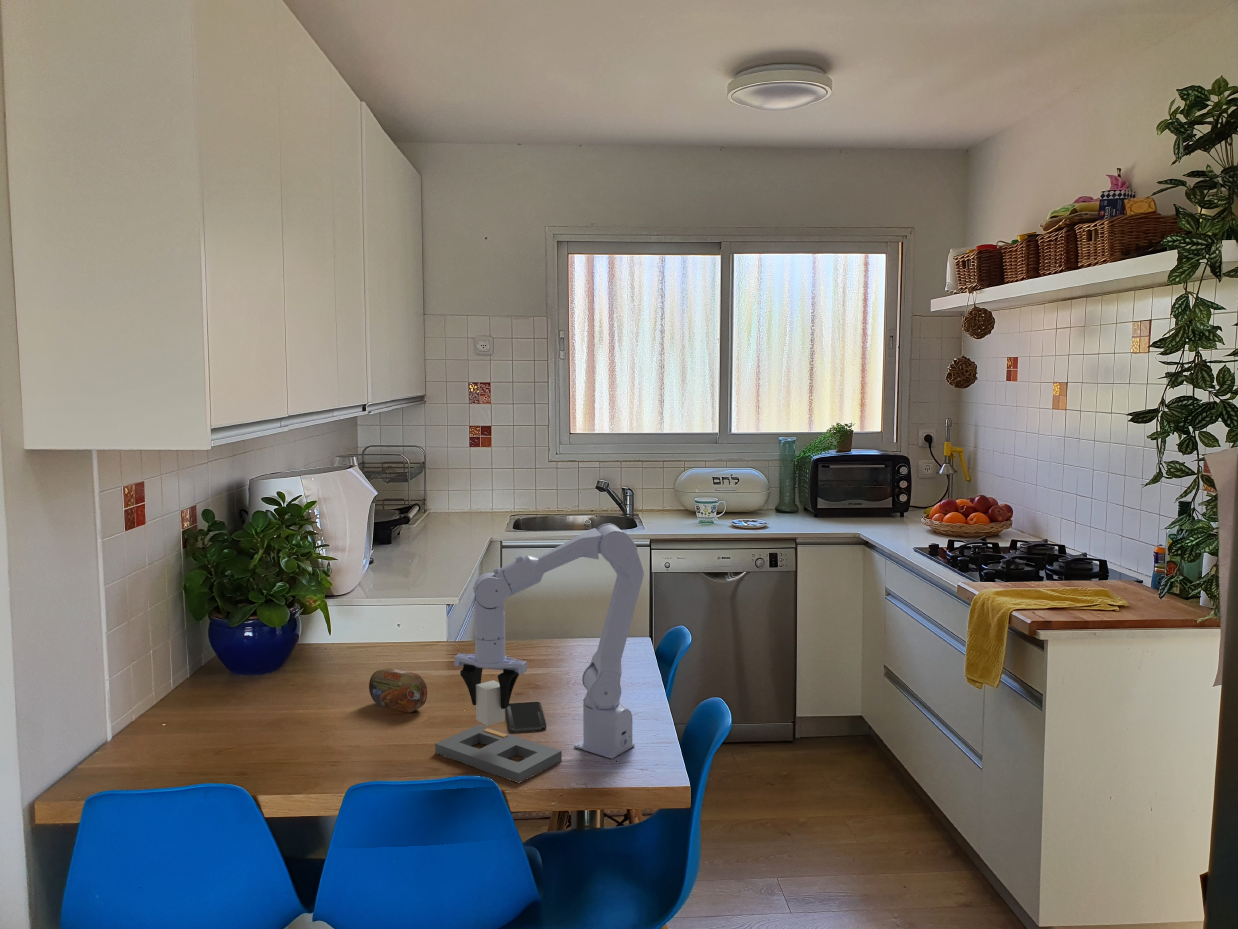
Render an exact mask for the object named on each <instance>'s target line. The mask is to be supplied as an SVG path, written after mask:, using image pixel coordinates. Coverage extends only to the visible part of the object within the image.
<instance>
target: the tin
mask: <svg viewBox="0 0 1238 929" xmlns="http://www.w3.org/2000/svg"><path fill="white" fill-rule="evenodd" d="M427 688H428V687H427V683H426V681H425V680H424V678H423V677H422V676H421V675H419V674H417V673H416V672H413V671H412V672H410V671H404V670H399V669H396V668H395V669H393V668H384V669H378V670H376V671H374V673H372V674H371V676H370V678H369V682H368V690H369V694H370V697H371V698H372V699H371V700H372V701H373V702H374V703H375V704H376V705H377V706H379V707H380V706H383V707H382V708H384V707H386V708H385V709H389V708H390V709H389V710H394V709H395V710H394V711H399V712H404V713H413V712H415V711H416V710H419V709H421V708H423V706H424V705H425V704H426V702H427V698H428V689H427Z"/></svg>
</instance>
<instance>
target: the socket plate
mask: <svg viewBox="0 0 1238 929" xmlns="http://www.w3.org/2000/svg"><path fill="white" fill-rule="evenodd" d="M479 742H480V743H479ZM482 743H483V744H482ZM474 744H475V745H477V744H482V745H485V744H487V745H485V746H483V747H482V748H477V747H474V746H475V745H474ZM472 745H473V746H472ZM434 749H435V751H434V753H438V754H440V755H439V756H441V755H442V756H441V757H444V756H446V757H449V758H451V759H450V760H452V759H454V760H453V761H455V760H457V761H460V762H462V763H461V764H463V763H465V764H464V765H466V764H467V765H466V766H468V765H470V766H469V767H471V766H473V767H472V768H474V767H475V768H474V769H478V770H480V771H483V772H485V773H488V774H491V775H494V776H496V775H498V776H497V777H499V776H501V777H500V778H502V777H505V778H508V779H511V780H514V781H517V782H520V781H523V780H525V779H527V778H529V777H531V776H532V775H534V776H536V775H538V774H540V773H541V772H540V771H542V772H544V771H546V770H547V769H549V768H551V767H553V766H554V764H555V765H557V764H558V762H559V763H560V762H562V760H563V759H562V756H563V755H562V754H563V753H562V750H560V749H557V748H555V747H551V746H548V745H544V744H543V743H538V742H536V741H533V740H530V739H525V738H523V737H520V736H517V735H514V734H511V733H507V732H504V731H501V730H498V729H495V728H492V727H489V726H486V725H482V724H477V725H474V726H473V727H469V728H468V729H465V730H464V731H461V732H459V733H457V734H454V735H452V736H449V737H447V738H444V739H443V740H440V741H438V742H435V743H434ZM438 754H437V755H438ZM516 754H517V755H516ZM514 755H515V756H518V755H520V756H523V757H526V758H523V757H522V758H523V759H522V760H520V761H515V760H512V759H511V758H513V757H515V756H514ZM512 756H513V757H512ZM520 756H519V757H520ZM446 757H445V758H446ZM510 757H511V758H510ZM449 758H448V759H449ZM508 758H509V759H508ZM457 761H456V762H457ZM460 762H459V763H460ZM556 763H557V764H556ZM548 767H549V768H548ZM546 768H547V769H546ZM545 769H546V770H545ZM543 770H544V771H543ZM539 772H540V773H539ZM537 773H538V774H537ZM535 774H536V775H535ZM531 778H532V777H531ZM529 779H530V778H529ZM527 780H528V779H527ZM525 781H526V780H525ZM523 782H524V781H523Z"/></svg>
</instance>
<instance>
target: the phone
mask: <svg viewBox="0 0 1238 929" xmlns="http://www.w3.org/2000/svg"><path fill="white" fill-rule="evenodd" d="M505 715H506V718H507V725H508V726H507V727H508V731H509V733H511V732H512V734H517V733H516V732H519V733H529V732H530V733H533V731H534V732H543V730H544V731H546V730H547V722H546V718H545V714H544V711H543V708H542V703H541V702H540V701H527V702H514V703H513V702H509V706H508V707H507V708H505ZM545 729H546V730H545Z"/></svg>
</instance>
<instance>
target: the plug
mask: <svg viewBox="0 0 1238 929" xmlns="http://www.w3.org/2000/svg"><path fill="white" fill-rule="evenodd" d="M475 717H476V718H475V720H476V721H478V722H479V723H481V724H484V726H486V727H489V726H492V725H496V724H499V723H502V722H506V708H505V709H501V692H500V685H499V681H496V680H494V679H493V680H489V681H485V682H481V684H477V685H476V705H475Z"/></svg>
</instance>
